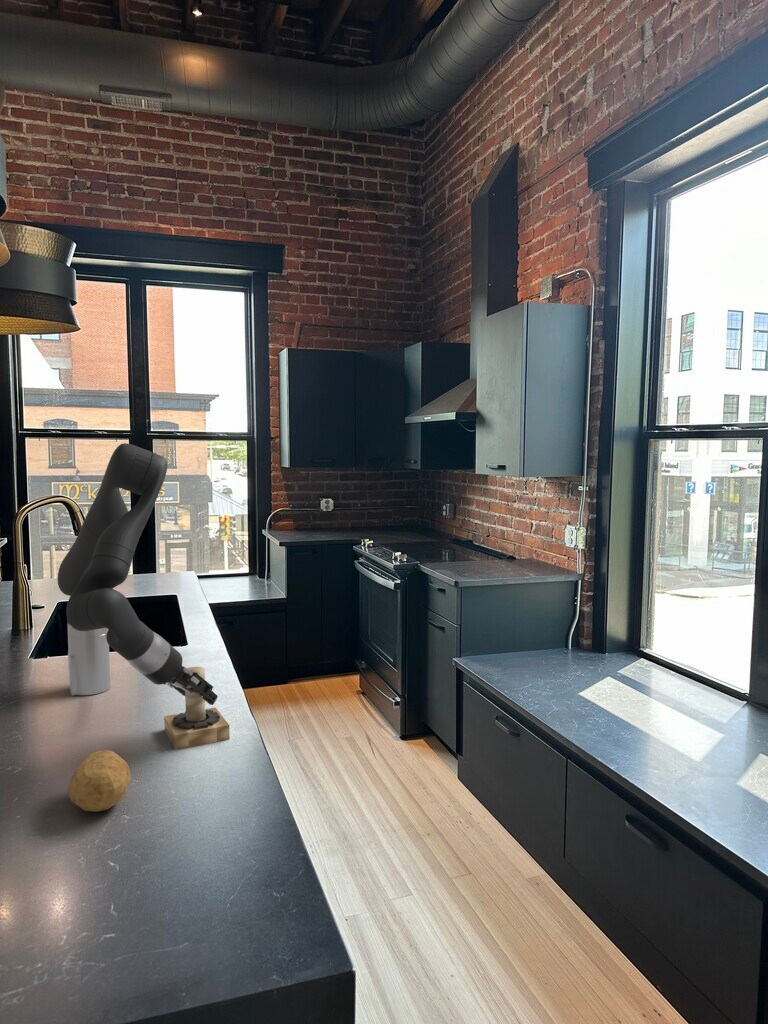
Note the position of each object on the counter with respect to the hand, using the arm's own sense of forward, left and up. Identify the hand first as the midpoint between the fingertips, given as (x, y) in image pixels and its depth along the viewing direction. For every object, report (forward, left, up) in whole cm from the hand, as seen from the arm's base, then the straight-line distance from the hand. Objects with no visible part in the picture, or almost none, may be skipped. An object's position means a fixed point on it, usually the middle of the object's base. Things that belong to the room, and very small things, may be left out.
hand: (200, 696), depth 147 cm
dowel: (-1, -1, -8) cm, 8 cm away
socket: (-1, -1, -8) cm, 8 cm away
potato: (-22, -22, -8) cm, 32 cm away
